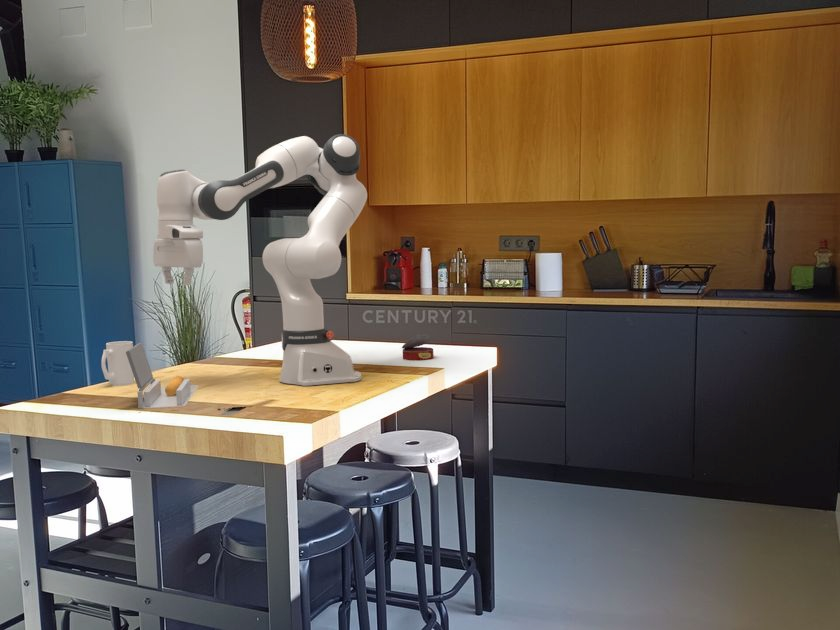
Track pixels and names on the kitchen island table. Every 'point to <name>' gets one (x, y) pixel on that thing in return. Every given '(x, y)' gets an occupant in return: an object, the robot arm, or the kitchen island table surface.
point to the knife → (233, 410)
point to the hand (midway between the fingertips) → (177, 284)
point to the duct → (165, 395)
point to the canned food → (417, 348)
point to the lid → (140, 366)
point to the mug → (117, 363)
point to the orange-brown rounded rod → (173, 386)
